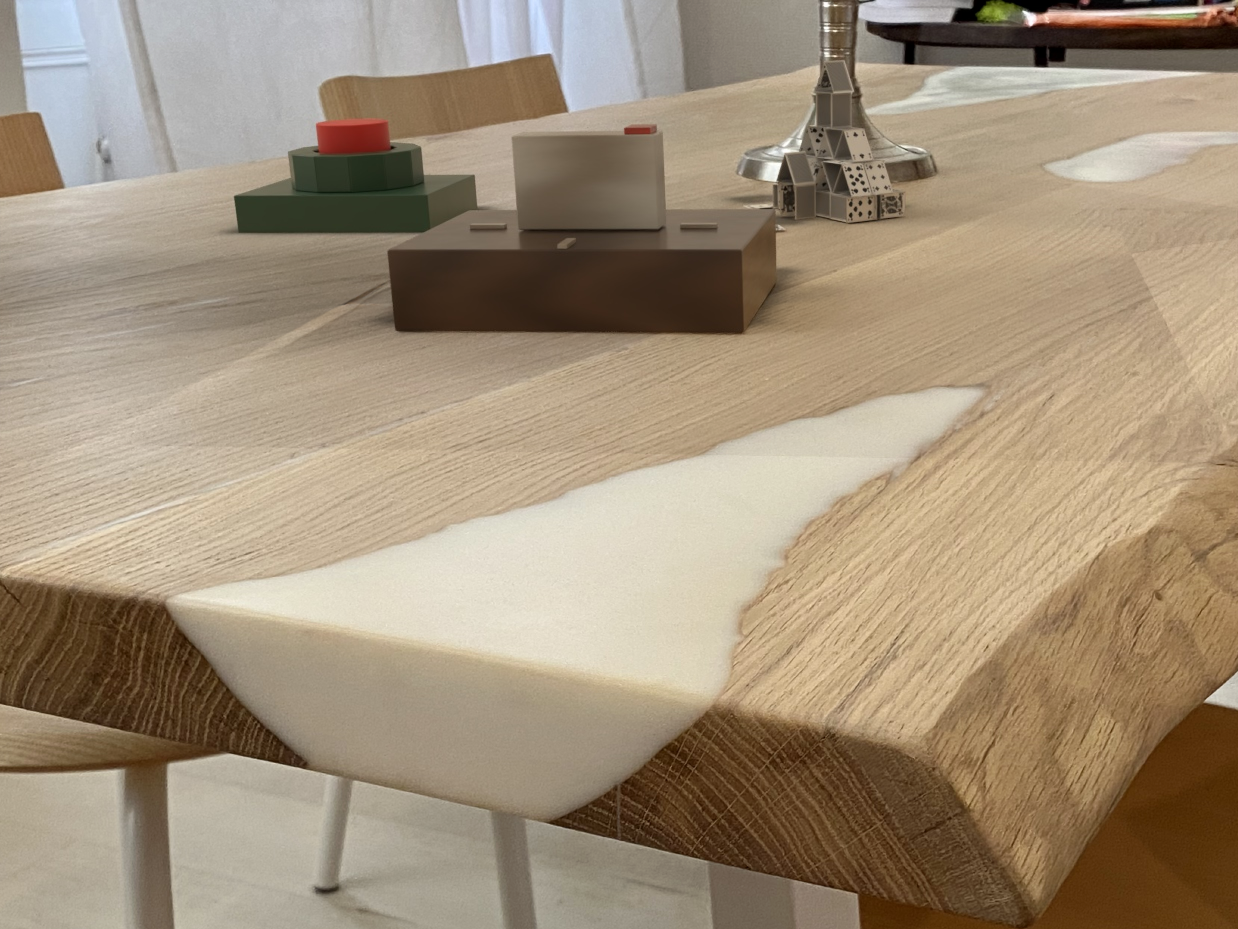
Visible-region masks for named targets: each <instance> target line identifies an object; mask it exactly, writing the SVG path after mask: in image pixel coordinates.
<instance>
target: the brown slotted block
mask: <svg viewBox="0 0 1238 929" xmlns="http://www.w3.org/2000/svg"><path fill="white" fill-rule="evenodd" d="M776 220H777V219H776V210H775V209H773V208H751V209H748V208H720V209H719V208H716V209H715V208H711V209H709V208H708V209H707V208H706V209H705V208H704V209H702V208H700V209H699V208H698V209H690V208H687V209H686V208H685V209H681V208H680V209H673V208H672V209H670V208H669V209H668V208H666V224H664V225H663V226H662V227H661V228H659V229H656V230H519V229H518V219H517V209H477V210H469V211H467V212H465V213H463V214H461V215H458V216H456V217H454V218H452V219H450V220H448V221H446V222H444V223H442V224H440V225H438V226H436V227H434V228H432V229H430V230H428V231H426V232H420V233H419V234H417V235H415V236H414V237H411V238H408V239H407V240H405V241H403V242H401V243H399V244H397V245H395V246H393V247H390V248H389V249H387V251H386V252H387V253H386V254H387V263H388V274H389V284H390V291H391V292H390V294H391V302H392V313H393V314H392V315H393V323H394V330H395V331H396V332H481V333H482V332H485V333H486V332H489V333H492V332H493V333H494V332H495V333H497V332H498V333H503V332H504V333H505V332H506V333H633V334H635V333H636V334H637V333H643V334H644V333H645V334H647V333H649V334H650V333H651V334H652V333H653V334H655V333H656V334H743V333H745V332H746V330H747V328H748V326H749V325H750V324H751V322H752V320H753V318H754V317H755V315H756V314H757V312H758V311H759V309H760V308H761V306H762V304H763V303H764V301H765V300H766V298H767V297H768V295H770V292H771V290H772V289H773V287H774V286H775V285H776V283H777V281H778V279H777V278H778V274H777V272H778V271H777V230H776V225H777V224H776V223H777V221H776Z"/></svg>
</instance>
